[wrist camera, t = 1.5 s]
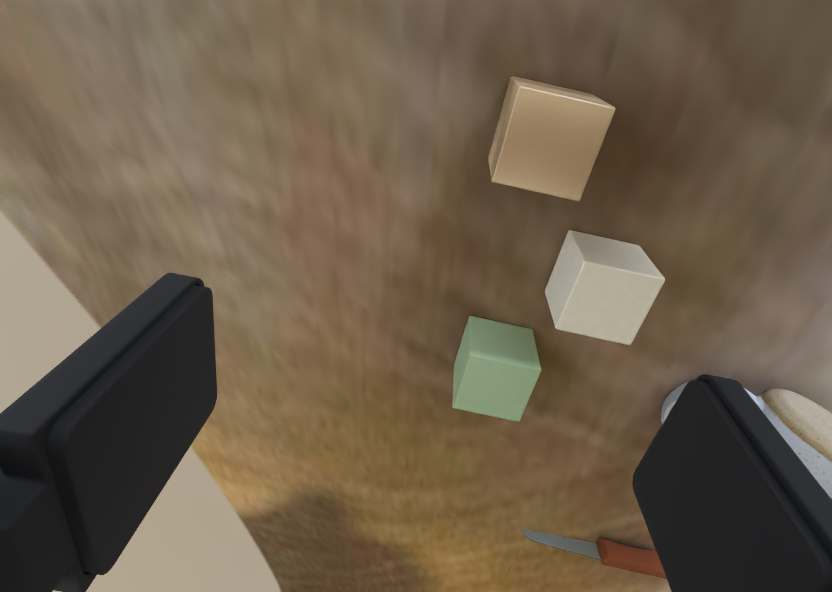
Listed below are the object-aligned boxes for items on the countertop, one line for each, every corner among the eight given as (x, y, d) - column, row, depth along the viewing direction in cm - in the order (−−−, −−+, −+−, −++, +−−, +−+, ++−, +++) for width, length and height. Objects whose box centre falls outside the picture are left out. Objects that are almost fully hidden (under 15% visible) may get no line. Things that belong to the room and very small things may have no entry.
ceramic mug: (841, 404, 31) (940, 506, 25) (750, 478, 35) (814, 583, 29) (705, 344, 30) (770, 434, 24) (626, 427, 34) (663, 524, 28)
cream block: (568, 229, 27) (584, 261, 24) (639, 244, 27) (666, 279, 24) (543, 291, 29) (555, 329, 26) (610, 305, 29) (630, 346, 26)
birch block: (510, 75, 24) (519, 85, 20) (593, 94, 24) (616, 107, 20) (487, 159, 26) (491, 182, 22) (563, 176, 26) (579, 202, 22)
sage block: (469, 315, 31) (469, 354, 27) (532, 328, 31) (541, 370, 27) (453, 365, 33) (452, 408, 29) (513, 378, 33) (519, 422, 29)
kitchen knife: (700, 557, 41) (710, 580, 39) (691, 565, 41) (701, 589, 40) (522, 515, 40) (525, 538, 38) (517, 525, 41) (519, 547, 39)
